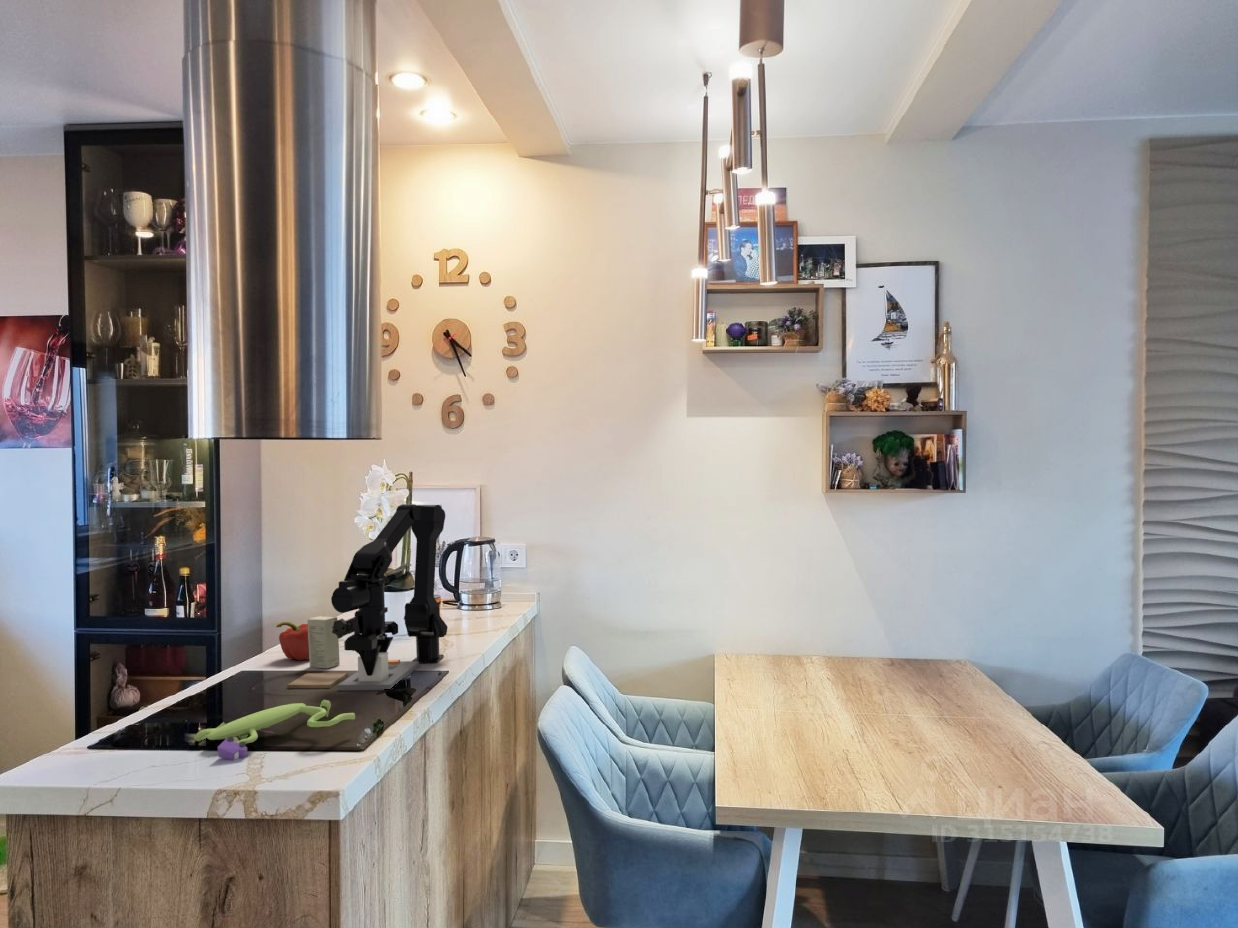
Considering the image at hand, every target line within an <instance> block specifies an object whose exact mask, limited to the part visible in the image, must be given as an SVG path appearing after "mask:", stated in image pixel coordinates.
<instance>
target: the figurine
mask: <svg viewBox="0 0 1238 928" xmlns="http://www.w3.org/2000/svg"><path fill="white" fill-rule="evenodd" d="M323 707H325V708H326V709H325V708H323ZM331 707H332V703H331V701H330V700H327V699H323V700H322V701H321V703H320V705H319V706H312V705H306V704H305V703H303V702H301V703H299V702H298V703H297V702H296V703H288V704H283V705H278V706H275V707H271V708H267V709H264V710H260V711H257V712H254V713H251V714H248V715H246V716H243V717H240V718H237V719H235V720H232V721H230V722H228V723H225V722H224V721H223V722H222V723H220V725H218V726H217V727H215V728H205V729H202V730H200V731H198V732H197V733H196V734H195V735H194V740H195V742H202V741H205V740H207V739H208V740H210V741H215V740H219V741H220V740H223V741H222V742H221V743H220V744H219V745H218V746H217V755H218V758H221V759H224V760H230V761H231V760H232V761H233V760H234V761H235V760H237V759H240V758H241V759H242V758H246V757H248V747H247V744H249V743H254V742H255V741H257V740H258V737H259V735H258V732H257V731H259V732H260V731H261V732H265V733H271V734H274V732H273V731H268V730H265V729H267V728H271V726H274V725H276V724H278V723H281V722H283V721H286V720H287V719H290V718H292V717H294V716H295V715H297V714H299V713H304V714H306V715H308V716H311V717H309V719H307V722H306V726H307V727H310V728H322V727H331V726H334V725H336V724H338V723H339V722H342V721H345V720H355V719H356V714H355V712H347V713H345V712H344V713H340V714H338V715H336V716H335V717H333V718H332V719H330V720H324V721H320V719H321V718H324V717H325V716H326V718H328V717H329V713H330V710H331ZM318 720H319V721H318ZM249 735H250V736H249ZM248 736H249V737H248ZM206 738H207V739H206ZM204 739H205V740H204ZM201 740H202V741H201Z"/></svg>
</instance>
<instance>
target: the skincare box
mask: <svg viewBox="0 0 1238 928" xmlns="http://www.w3.org/2000/svg"><path fill="white" fill-rule="evenodd" d="M337 620H338V617H337V616H325V615H324V616H323V615H322V616H321V615H319V616H314V617H311V618H307V624H308V640H309V661H308V662H309V668H314V669H315V668H316V669H317V668H318V669H330V668H333V667H336V666H339V665H341V664H340V647H339V646H340V643H339V642H340V641H339V639H338V638H337V635H336V634H333V633H332V631H333V628H332V627H333V626H334V622H335V621H337Z"/></svg>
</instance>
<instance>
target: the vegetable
mask: <svg viewBox="0 0 1238 928" xmlns="http://www.w3.org/2000/svg"><path fill="white" fill-rule="evenodd" d="M282 626H287V627H290V628H287V629H286V630H285V631H282V632H280V633H279V637H278V641H279V644H280V647H281V650H282V653H283V654H284V655H285V657H286V658H287V659H289V660H298V661H304V659H305V660H308V659H309V640H308V623H302V624H299V625H298V626H297V625H296V624H295V623H292V622H289V621H283V622H280V623H278V624H277V625H276V628H281V627H282Z"/></svg>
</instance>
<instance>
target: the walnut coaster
mask: <svg viewBox="0 0 1238 928" xmlns="http://www.w3.org/2000/svg"><path fill="white" fill-rule="evenodd" d="M348 675H349V674H348V672H322V673H321V672H319V673H318V672H312V673H311V672H308V673H305V674H303V675H301V676H299V677H298V678H296V679H295V680H293V681H291V682H290V683H288V684H287V685H286V689H331V688H332V687H334V686H337V685H338V684H340V683H341V681H342V682H343V681H344V680H346V679H347V678H348V677H349V676H348Z"/></svg>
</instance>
